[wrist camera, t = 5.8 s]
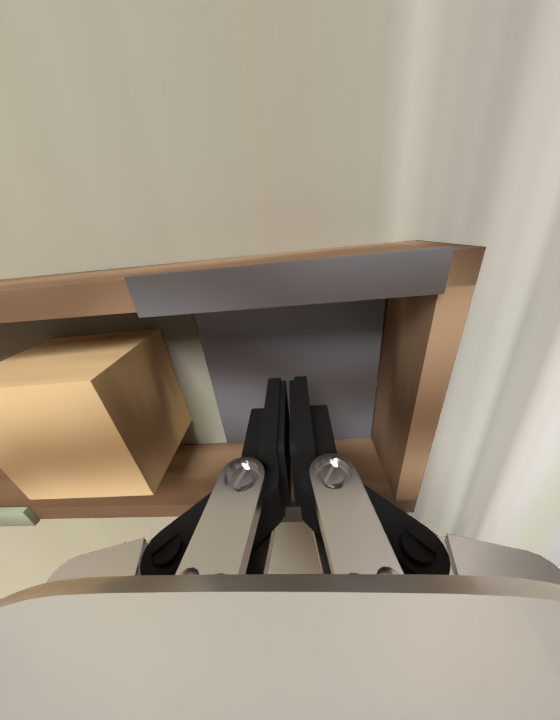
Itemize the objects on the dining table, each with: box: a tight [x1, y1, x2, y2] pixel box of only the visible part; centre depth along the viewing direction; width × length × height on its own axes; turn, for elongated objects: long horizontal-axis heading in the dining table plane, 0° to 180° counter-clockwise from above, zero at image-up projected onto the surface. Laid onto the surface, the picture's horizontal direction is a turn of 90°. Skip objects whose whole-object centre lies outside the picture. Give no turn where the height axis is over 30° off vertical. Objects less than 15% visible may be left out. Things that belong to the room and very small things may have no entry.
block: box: [0, 328, 192, 500], centre depth 12 cm, size 6×6×5 cm
